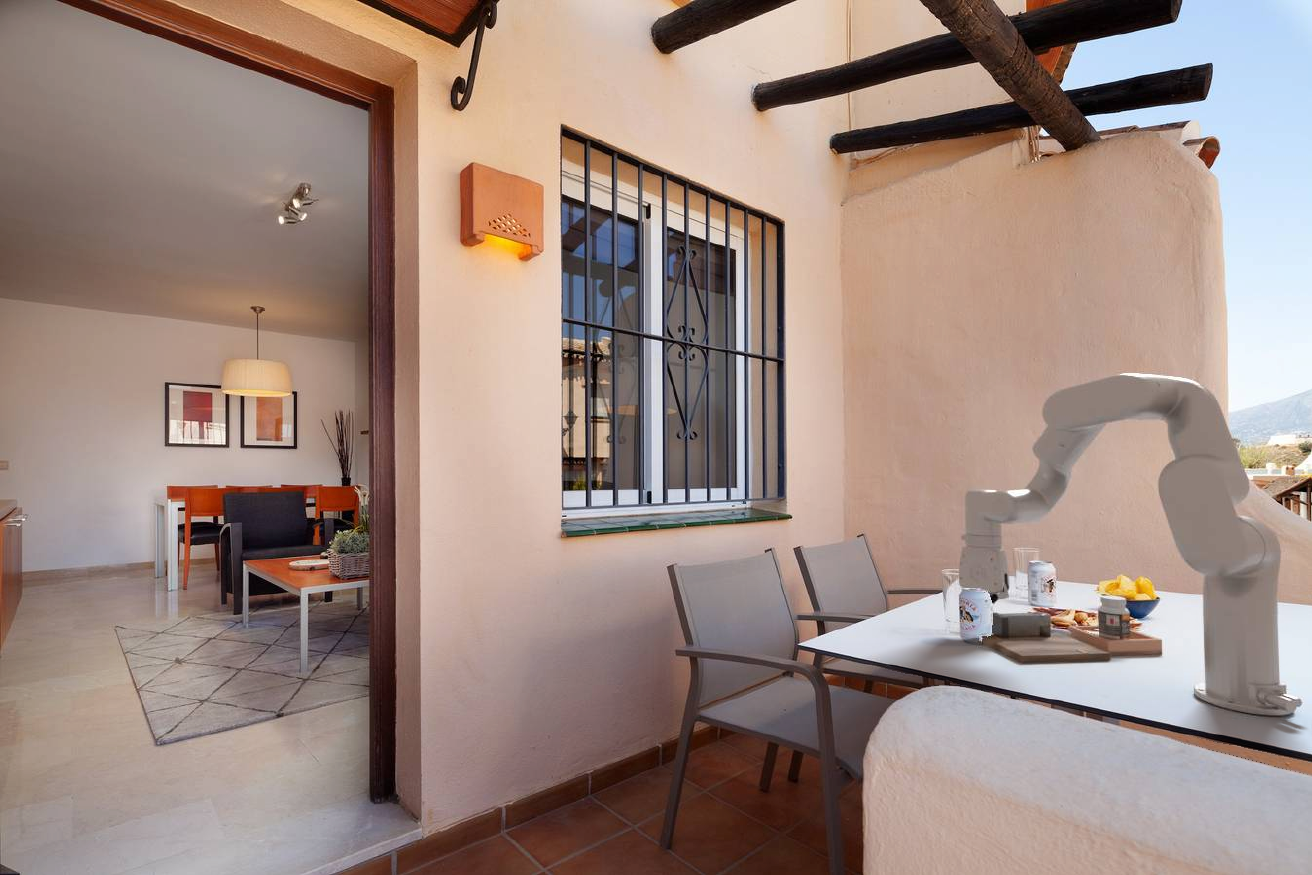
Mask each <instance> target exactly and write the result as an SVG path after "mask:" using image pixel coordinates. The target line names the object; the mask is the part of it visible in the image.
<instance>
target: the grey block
mask: <svg viewBox="0 0 1312 875" xmlns="http://www.w3.org/2000/svg"><path fill="white" fill-rule="evenodd" d="M1051 618H1052V615H1051V614H1050V613H1047V612H1044V611H1043V612H1042V611H1041V612H1039V611H1036V612H1035V611H1033V612H1018V613H1017V612H1014V613H1008V612H1007V613H999V612H993V625H992V633H991V634H994V635H997V636H999V637H1001V638H1009V636H1051V633H1052V619H1051Z"/></svg>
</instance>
